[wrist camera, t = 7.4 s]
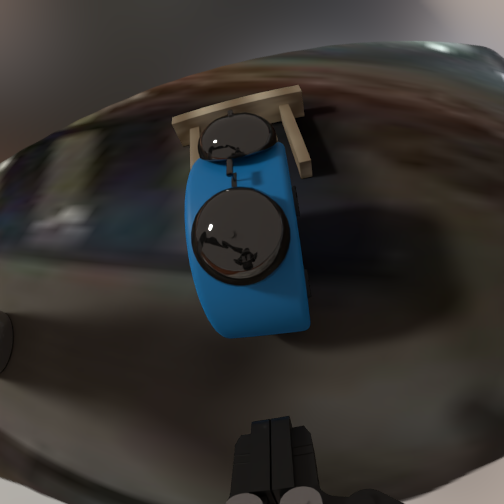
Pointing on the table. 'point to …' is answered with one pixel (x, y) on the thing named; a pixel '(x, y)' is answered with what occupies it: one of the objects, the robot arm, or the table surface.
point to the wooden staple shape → (263, 104)
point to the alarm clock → (245, 231)
